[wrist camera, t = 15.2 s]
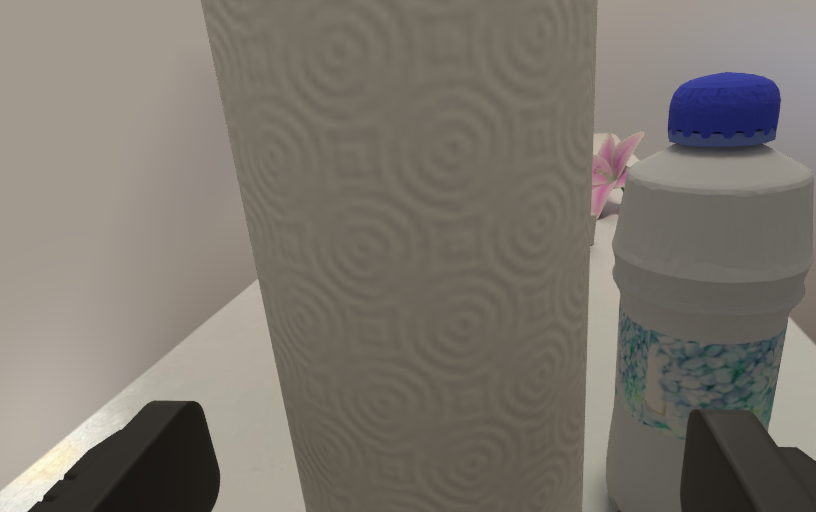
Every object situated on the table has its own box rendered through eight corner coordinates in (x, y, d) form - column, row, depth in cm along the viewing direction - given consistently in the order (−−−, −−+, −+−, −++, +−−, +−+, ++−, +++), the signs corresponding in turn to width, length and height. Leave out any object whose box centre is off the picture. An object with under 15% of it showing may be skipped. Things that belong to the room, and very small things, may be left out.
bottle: (658, 448, 30) (693, 66, 23) (790, 531, 24) (892, 60, 17) (569, 504, 27) (580, 82, 20) (698, 613, 21) (775, 82, 14)
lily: (569, 200, 80) (545, 149, 75) (650, 166, 76) (630, 110, 71) (587, 250, 71) (561, 196, 65) (680, 215, 66) (660, 154, 61)
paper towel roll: (372, 943, 12) (99, -205, 5) (354, 667, 18) (216, -61, 10) (662, 857, 13) (817, -230, 6) (559, 619, 19) (567, -85, 11)
